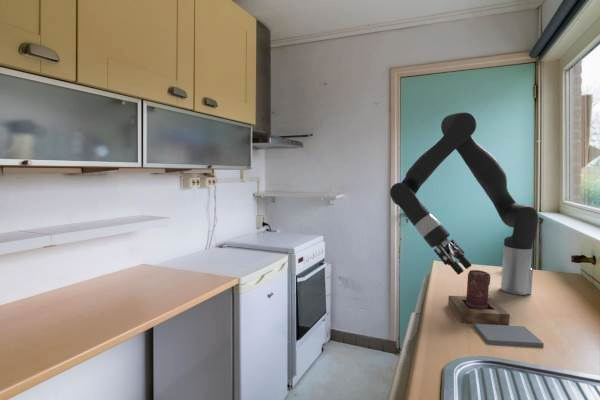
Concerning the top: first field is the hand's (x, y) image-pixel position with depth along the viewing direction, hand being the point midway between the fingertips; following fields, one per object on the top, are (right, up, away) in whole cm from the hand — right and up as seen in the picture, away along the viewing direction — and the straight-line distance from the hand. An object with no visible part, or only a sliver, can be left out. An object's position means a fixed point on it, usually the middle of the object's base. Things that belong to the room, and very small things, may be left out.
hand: (465, 270), depth 116 cm
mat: (+4, -16, -15) cm, 22 cm away
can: (+3, -14, -1) cm, 15 cm away
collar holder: (+3, -14, -1) cm, 14 cm away
